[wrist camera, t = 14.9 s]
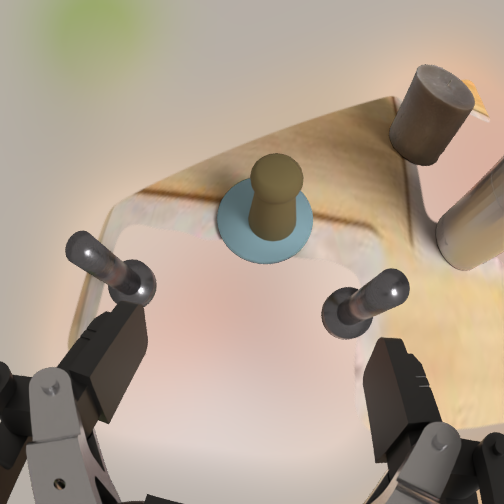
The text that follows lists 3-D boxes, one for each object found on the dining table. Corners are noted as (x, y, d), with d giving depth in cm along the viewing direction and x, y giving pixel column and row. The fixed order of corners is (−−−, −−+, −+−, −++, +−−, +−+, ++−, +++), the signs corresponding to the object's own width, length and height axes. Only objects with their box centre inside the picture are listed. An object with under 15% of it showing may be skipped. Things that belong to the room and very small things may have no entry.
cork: (242, 204, 40) (237, 151, 30) (287, 192, 40) (296, 138, 30) (256, 247, 38) (256, 203, 28) (303, 233, 38) (319, 187, 28)
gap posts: (370, 292, 37) (423, 255, 23) (367, 341, 35) (424, 326, 21) (119, 260, 38) (64, 213, 25) (108, 305, 36) (45, 274, 23)
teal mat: (313, 185, 42) (314, 182, 41) (308, 269, 38) (309, 267, 37) (226, 175, 42) (226, 171, 42) (210, 257, 38) (209, 255, 38)
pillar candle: (445, 168, 43) (490, 110, 29) (396, 163, 43) (436, 95, 29) (427, 125, 47) (461, 65, 32) (381, 118, 46) (409, 51, 32)
